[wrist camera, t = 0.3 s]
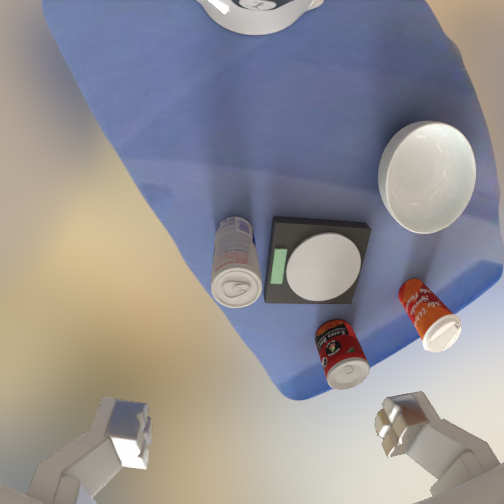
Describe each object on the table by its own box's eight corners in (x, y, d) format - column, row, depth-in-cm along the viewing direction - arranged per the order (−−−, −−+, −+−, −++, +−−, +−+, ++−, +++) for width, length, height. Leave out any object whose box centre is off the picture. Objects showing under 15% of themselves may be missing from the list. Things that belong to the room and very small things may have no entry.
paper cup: (413, 266, 53) (452, 312, 41) (433, 284, 55) (469, 329, 43) (385, 297, 56) (417, 347, 43) (406, 312, 58) (437, 360, 46)
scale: (273, 216, 47) (275, 223, 44) (365, 222, 48) (372, 230, 46) (263, 294, 53) (265, 305, 51) (347, 295, 55) (352, 305, 52)
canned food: (340, 311, 56) (359, 353, 46) (358, 334, 59) (376, 374, 50) (306, 333, 58) (318, 376, 48) (326, 353, 61) (339, 395, 52)
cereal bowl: (384, 233, 49) (403, 253, 43) (349, 141, 42) (368, 150, 36) (460, 191, 46) (484, 205, 40) (436, 102, 39) (463, 106, 33)
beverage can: (207, 233, 47) (199, 290, 34) (233, 207, 46) (235, 257, 33) (234, 256, 50) (237, 317, 36) (260, 232, 48) (272, 288, 35)
